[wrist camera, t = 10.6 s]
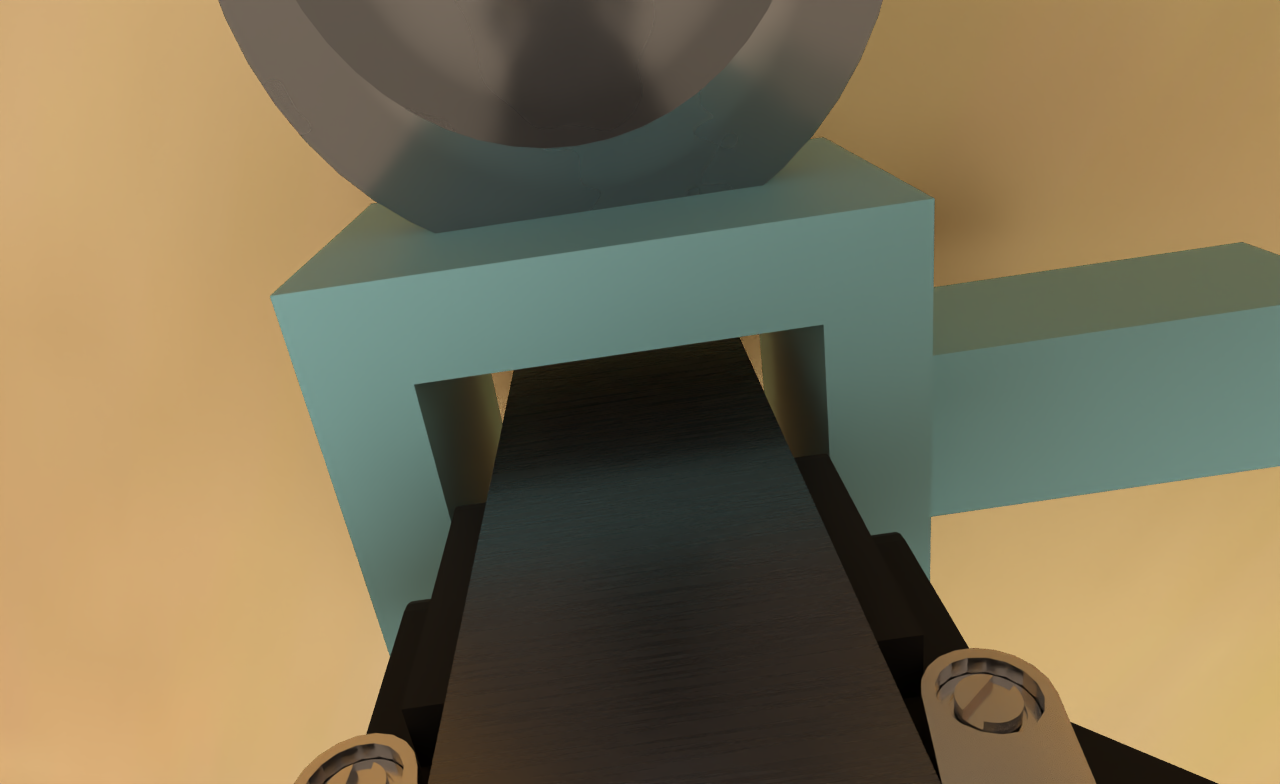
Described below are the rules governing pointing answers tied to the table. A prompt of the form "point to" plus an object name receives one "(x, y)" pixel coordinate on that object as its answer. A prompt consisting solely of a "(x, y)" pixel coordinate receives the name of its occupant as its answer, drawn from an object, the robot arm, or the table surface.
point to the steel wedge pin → (662, 595)
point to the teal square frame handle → (779, 353)
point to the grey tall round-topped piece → (550, 96)
